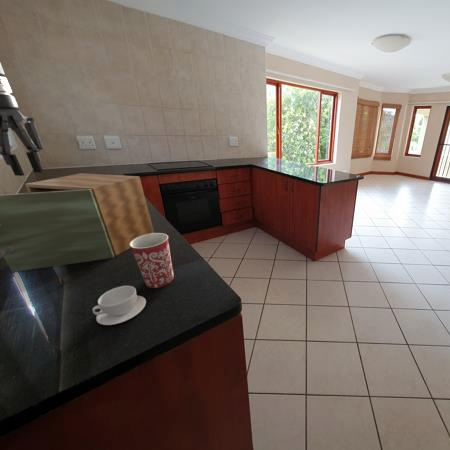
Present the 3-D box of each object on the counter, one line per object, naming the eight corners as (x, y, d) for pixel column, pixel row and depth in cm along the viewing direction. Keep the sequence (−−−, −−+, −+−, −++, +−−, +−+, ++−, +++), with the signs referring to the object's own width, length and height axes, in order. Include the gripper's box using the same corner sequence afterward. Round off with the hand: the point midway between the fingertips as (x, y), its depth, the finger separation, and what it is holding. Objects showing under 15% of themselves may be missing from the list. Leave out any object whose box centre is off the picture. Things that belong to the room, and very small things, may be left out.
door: (108, 265, 76) (82, 194, 67) (-1, 282, 68) (-48, 203, 58) (114, 256, 81) (91, 188, 72) (14, 270, 73) (-27, 196, 64)
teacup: (140, 291, 65) (135, 277, 63) (151, 310, 58) (147, 295, 56) (93, 310, 58) (87, 295, 56) (100, 334, 52) (93, 317, 50)
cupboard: (116, 256, 82) (93, 188, 72) (54, 249, 86) (24, 183, 76) (154, 234, 98) (139, 176, 88) (100, 229, 102) (81, 173, 92)
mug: (173, 288, 66) (162, 245, 61) (137, 292, 64) (122, 249, 59) (183, 264, 77) (175, 226, 72) (153, 267, 76) (142, 228, 70)
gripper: (-41, 89, 60) (4, 180, 69) (40, 96, 76) (67, 169, 85) (-63, 89, 61) (-16, 178, 71) (21, 96, 77) (50, 168, 86)
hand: (29, 173), depth 78 cm, fingers open, 4 cm apart
